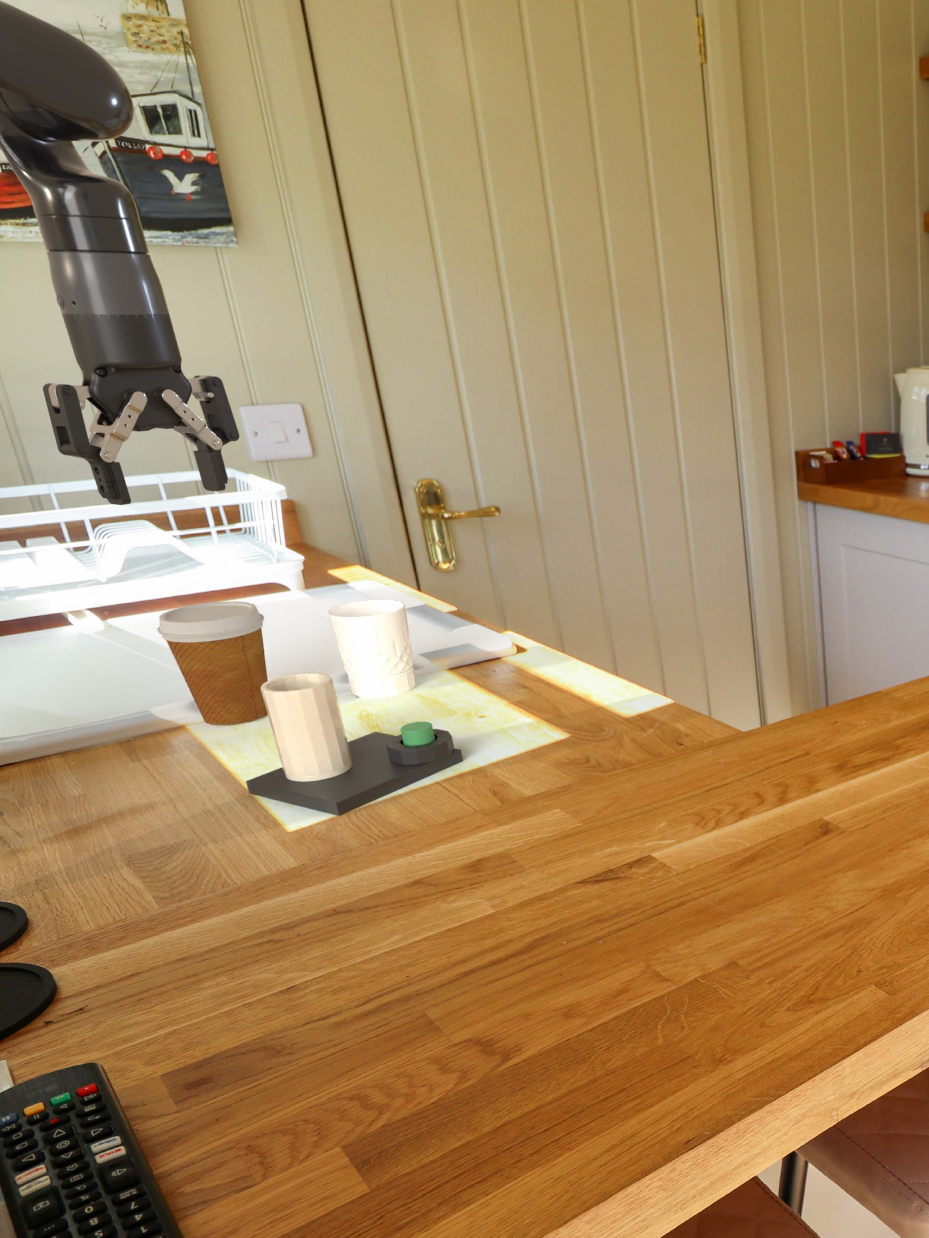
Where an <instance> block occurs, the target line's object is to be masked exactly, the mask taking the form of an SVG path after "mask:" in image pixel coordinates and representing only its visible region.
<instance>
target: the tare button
mask: <svg viewBox="0 0 929 1238" xmlns="http://www.w3.org/2000/svg"><path fill="white" fill-rule="evenodd" d="M433 729H434V726H433V724H432V723H431V722H430V721H413V722H409V723H405V724H404V725H402V726H401V727H400V734H402V738H403V743H404V745H406V746H419V745H423V744H428V743H431V742H433V741H435V736H434V731H433Z"/></svg>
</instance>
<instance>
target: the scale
mask: <svg viewBox="0 0 929 1238" xmlns="http://www.w3.org/2000/svg"><path fill="white" fill-rule="evenodd" d="M433 731H434V736H435V741H433V742H431V743H428V744H423V745H419V746H406V745H404V743H403V738H402V734H401V733H400V734H397V735H394V734H389V733H384V732H380V731H373V732H370V733H368V734H366V735H363V736H361V737H358V738H355V739H352V740H350V741H348V745H349V749H350V753H351V757H352V763H353V765H352V767H351V768H350V769H349V770H348V771H346V772H345V773H343V774H340V775H338V776H335V777H332V778H328V779H324V780H318V781H309V782H298V781H292V780H289V779H287V778H286V776H285V773H284V771H283V768H282V767H279V768H277V769H274V770H271V771H268V772H265V773H263V774H261V775H258V776H256V777H253V778H251V779H248V780H246V781H245V784H246V787H247V790H248V794H250V795H253V796H258V797H261V798H265V799H269V800H273V801H278V802H280V803H284V804H289V805H293V806H296V807H297V806H298V807H301V808H305V809H308V810H313V811H317V812H321V813H324V814H329V815H333V816H337V817H341V816H344V815H345V814H347V813H350V812H352V811H354V810H356V809H358V808H361V807H363V806H366V805H368V804H370V803H372V802H375V801H377V800H379V799H381V798H383V797H386V796H388V795H390V794H392V793H395V792H397V791H400V790H402V789H404V788H406V787H408V786H411V785H413V784H416V783H417V782H419V781H422V780H424V779H427V778H428V777H431V776H433V775H435V774H438V773H440V772H443V771H445V770H447V769H449V768H452V767H454V766H456V765H459V764H460V763H463V762H464V758H463V753H462V749H460V748H455V744H454V738H453V735H452V734H451V733H450V732H449V731H448V730H445V729H440V728H433Z"/></svg>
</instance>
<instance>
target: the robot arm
mask: <svg viewBox="0 0 929 1238" xmlns="http://www.w3.org/2000/svg"><path fill="white" fill-rule="evenodd" d="M134 116H135V108H134V102H133V98H132V95H131V93H130V90H129V88H128V86H127V84H126V82H125V81H124V79H123V78H122V76H121V75H120V74H119V72H118V71H117V70H116V69H115V67H114V66H113V65H112V64H111V63H110V62H109V61H108V60H107V59H106V58H105V57H104V56H103V55H102V54H100V53H99V52H98V51H97V50H95V49H94V48H93V47H92V46H90V45H89V44H88V43H87V42H85V41H83V40H81V39H80V38H78V37H77V36H75V35H73V34H71V33H70V32H68V31H65V30H64V29H61V28H60V27H58V26H56V25H54V24H52V23H50V22H47V21H46V20H43V19H41V18H39V17H37V16H35V15H33V14H31V13H29V12H27V11H24V10H23V9H20V8H18V7H17V6H14V5H12V4H10V3H7V2H5V1H2V0H0V150H1V152H2V153H3V155H4V157H5V159H6V160H7V162H8V164H9V166H10V167H11V169H12V171H13V173H14V174H15V176H16V177H17V178H18V181H19V182H20V183H21V185H22V186H23V188H24V190H25V191H26V193H27V194H28V196H29V199H30V201H31V203H32V204H31V205H32V209H33V212H34V215H35V218H36V221H37V225H38V228H39V232H40V234H41V237H42V241H43V245H44V247H45V250H46V251H47V252H46V255H47V259H48V265H49V266H48V267H49V273H50V279H51V283H52V286H53V290H54V292H55V296H56V303H57V305H58V306H59V309H60V313H61V316H62V319H63V322H64V326H65V328H66V332H67V336H68V338H69V342H70V345H71V348H72V351H73V355H74V358H75V361H76V363H77V365H78V367H79V368H80V370H81V372H82V383H81V385H80V384H79V385H76V384H75V385H74V384H73V385H71V384H68V383H67V384H64V383H54V382H47V383H45V384H44V385H43V386H42V392H43V396H44V400H45V404H46V409H47V412H48V415H49V419H50V423H51V427H52V432H53V435H54V440H55V443H56V448H57V450H58V452H59V453H60V454H61V455H63V456H68V457H74V458H79V459H83V460H85V461H86V462H87V463H88V464H89V466H90V469H91V471H92V475H93V478H94V481H95V485H96V488H97V491H98V494H99V495H100V496H101V497H102V498H103V499H106V500H107V502H108V503H109V504H111V505H116V506H125V505H130V504H132V499H131V495H130V492H129V488H128V485H127V481H126V478H125V475H124V472H123V469H122V465H121V462H120V461H115V460H116V458H117V457H118V454H119V453H120V451H121V448H122V446H123V444H124V443H125V442H126V441H128V439H129V438H130V436H131V434H132V432H149V431H151V430H154V429H160V430H161V429H162V430H163V429H164V430H170V429H172V430H173V431H175V432H177V433H179V434H181V435H182V436H183V437H184V438H185V439H186V440H188V441H189V443H191V444H192V445H193V446H194V447H195V448H197V450H193V454H194V458H195V459H194V460H195V462H196V465H197V466H196V467H197V470H198V473H199V476H200V480H201V484H202V487H203V488H204V490H206V491H208V492H222V491H226V485H227V484H228V480H229V477H228V473H227V469H226V466H225V462H224V458H223V455H222V449H223V447H224V446H225V445H227V444H230V443H231V442H237V441H238V440H239V439H240V432H239V430H238V427H237V423H236V420H235V417H234V414H233V411H232V408H231V407H232V406H231V405H230V401H229V398H228V395H227V391H226V389H225V385H224V382H223V379H221V378H220V377H219V376H214V375H207V374H206V375H205V374H203V375H202V374H201V375H198V374H197V375H195V376H193V378H187V376H186V375H185V374H184V372H183V370H182V361H183V360H182V359H183V357H182V356H181V355H182V354H181V351H180V347H179V344H178V340H177V337H176V333H175V329H174V326H173V325H174V324H173V322H172V318H171V315H170V311H169V307H168V304H167V299H166V296H165V293H164V289H163V286H162V282H161V279H160V277H159V275H158V272H157V270H156V268H155V266H154V263H153V260H152V257H151V255H150V254H149V253H150V251H149V248H148V244H147V240H146V237H145V232H144V228H143V225H142V222H141V218H140V215H139V214H140V213H139V210H138V207H137V204H136V202H135V201H136V200H135V198H134V196H133V194H132V193H131V191H130V189H128V187H127V186H126V185H125V184H124V183H123V182H120V181H119V180H117V179H114V178H111V177H109V176H104V175H100V174H97V173H94V172H92V171H91V170H89V168H88V166H87V165H86V163H85V162H84V160H83V159H82V157H81V155H80V153H79V152H78V150H77V148H76V146H75V144H74V143H73V142H105V141H106V142H107V141H110V140H115V139H117V138H120V137H121V136H123V135H124V134H126V132H127V131H129V129H130V128H131V125H132V123H133V121H134ZM191 396H193V397H194V398H195V399H196V400H197V401H198V403H199V405H200V408H201V411H202V414H203V417H204V419H203V418H201V417H200V416H199V415H198V413H196V412H195V411H194V410H192V408H191V407H189V406H188V403H189V401H190V398H191ZM86 401H88V402H89V403H90V404H91V405H92V406H94V407H95V408H96V409H97V412H96V414H95V416H94V418H93V420H92V423H91V425H90V427H89V432H90V434H89V436H88V430H87V428H86V424H85V423H86V422H85V419H84V416H83V412H82V411H83V410H84V409H85V408H86Z"/></svg>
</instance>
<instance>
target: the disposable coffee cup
mask: <svg viewBox="0 0 929 1238" xmlns="http://www.w3.org/2000/svg"><path fill="white" fill-rule="evenodd" d="M158 619H159V625H158V627H157V628H156V631H157V633H158V634H159V635H161V637H162V638H163V639H164V640H165V641H166V643H167V646H168V648H169V650H170V652H171V654H172V656H173V658H174V660H175V662H176V664H177V667H178V669H179V671H180V673H181V675H182V677H183V679H184V682H185V683H186V685H187V688H188V690H189V692H190V693H191V696H192V698H193V700H194V703H195V704H196V707H197V709H198V711H199V714H200V716H201V717H202V719H203V722H204V723H205V724H208V725H211V726H233V725H241V724H245V723H250V722H254V721H256V720H259V719H262V718H264V717H267V716H268V713H267V710H266V706H265V702H264V699H263V695H262V692H261V686H262V684H264V683H265V682H267V681H269V680H268V671H267V665H266V655H265V646H264V638H263V630H262V628H263V625H264V621H265V616H264V615H263V614H262V613H260V611H259V609H258V607H257V606H256V605H255V604H254V603H252V602H247V601H235V600H232V601H213V602H204V603H197V604H190V605H186V606H180V607H177V608H173V609H171V610H168V611H166V612H163V613H161V615H160V616H159V618H158Z"/></svg>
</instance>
